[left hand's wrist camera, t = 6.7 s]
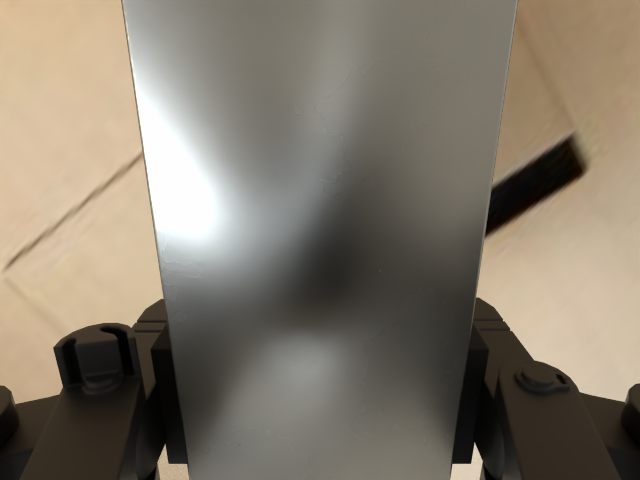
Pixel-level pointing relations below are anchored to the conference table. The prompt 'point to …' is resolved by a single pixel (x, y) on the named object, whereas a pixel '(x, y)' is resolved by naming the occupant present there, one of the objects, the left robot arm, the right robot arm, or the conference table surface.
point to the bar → (319, 223)
